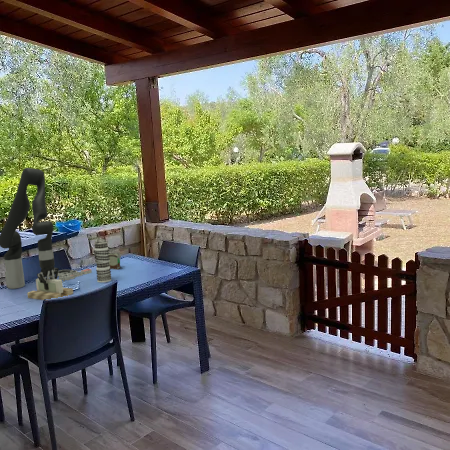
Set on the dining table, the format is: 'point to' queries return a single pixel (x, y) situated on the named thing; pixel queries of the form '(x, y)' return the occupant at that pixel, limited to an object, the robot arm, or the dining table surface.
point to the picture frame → (50, 286)
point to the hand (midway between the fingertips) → (49, 288)
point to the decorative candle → (102, 261)
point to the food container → (114, 261)
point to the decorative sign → (72, 274)
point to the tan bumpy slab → (49, 294)
